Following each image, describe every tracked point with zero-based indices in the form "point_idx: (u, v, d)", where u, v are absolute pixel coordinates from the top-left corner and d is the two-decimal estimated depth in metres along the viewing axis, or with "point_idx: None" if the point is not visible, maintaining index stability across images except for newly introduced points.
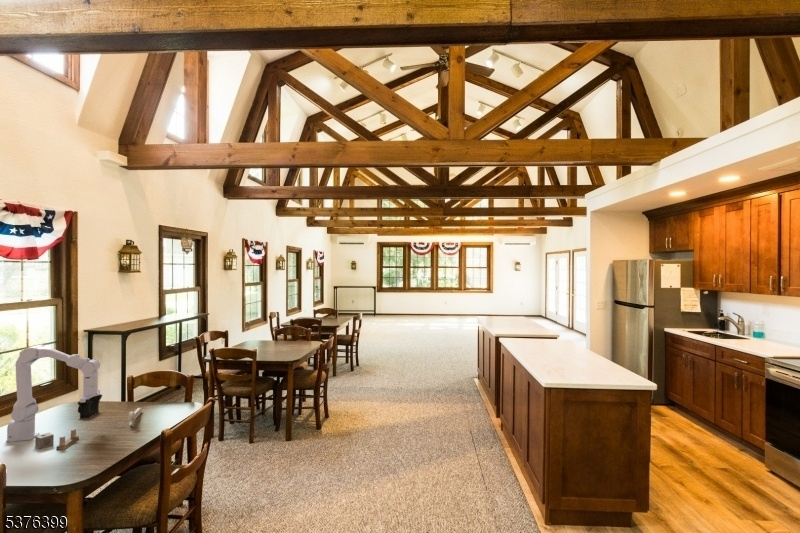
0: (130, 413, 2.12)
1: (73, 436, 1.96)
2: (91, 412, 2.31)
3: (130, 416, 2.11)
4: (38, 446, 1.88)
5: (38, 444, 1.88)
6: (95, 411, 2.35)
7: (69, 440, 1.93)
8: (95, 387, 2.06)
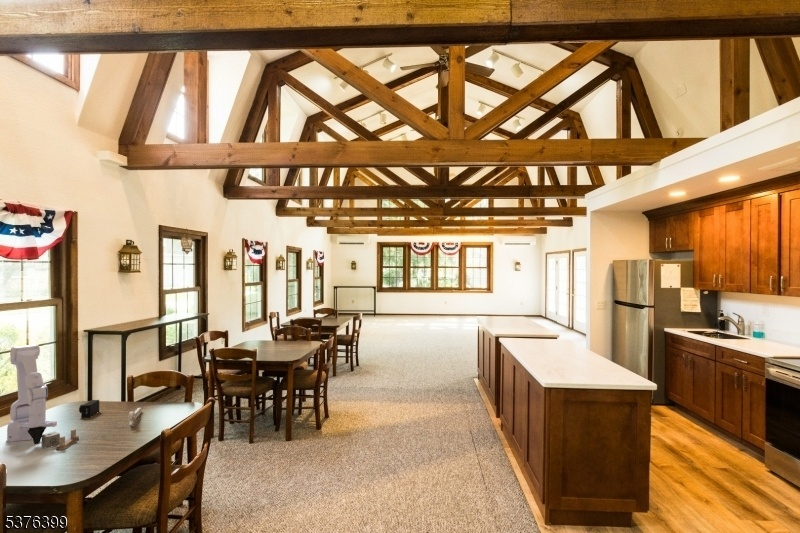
0: (130, 413, 2.12)
1: (73, 436, 1.96)
2: (92, 412, 2.31)
3: (130, 416, 2.11)
4: (44, 445, 1.89)
5: (44, 443, 1.89)
6: (96, 411, 2.35)
7: (69, 440, 1.93)
8: (31, 417, 1.88)
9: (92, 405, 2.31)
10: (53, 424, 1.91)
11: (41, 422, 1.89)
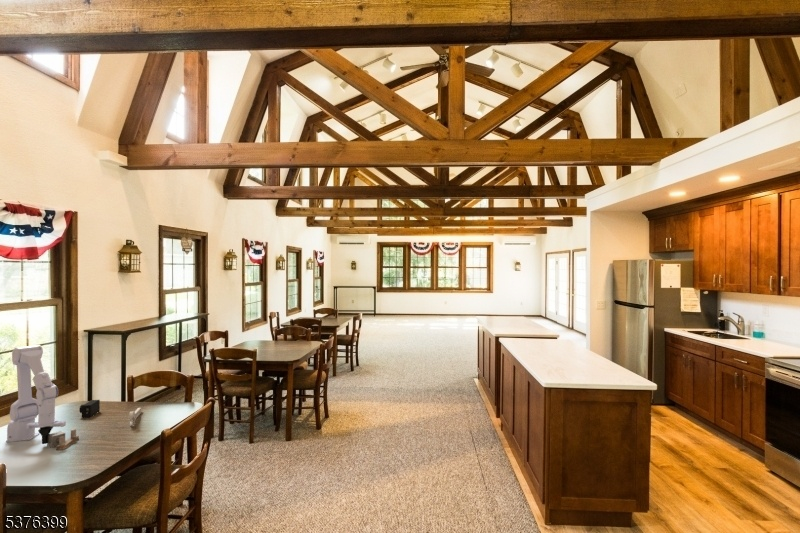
0: (130, 413, 2.12)
1: (73, 436, 1.96)
2: (93, 412, 2.31)
3: (130, 416, 2.11)
4: (50, 444, 1.90)
5: (50, 442, 1.90)
6: (96, 411, 2.35)
7: (69, 440, 1.93)
8: (40, 417, 1.88)
9: (92, 405, 2.31)
10: (62, 424, 1.92)
11: (50, 422, 1.90)
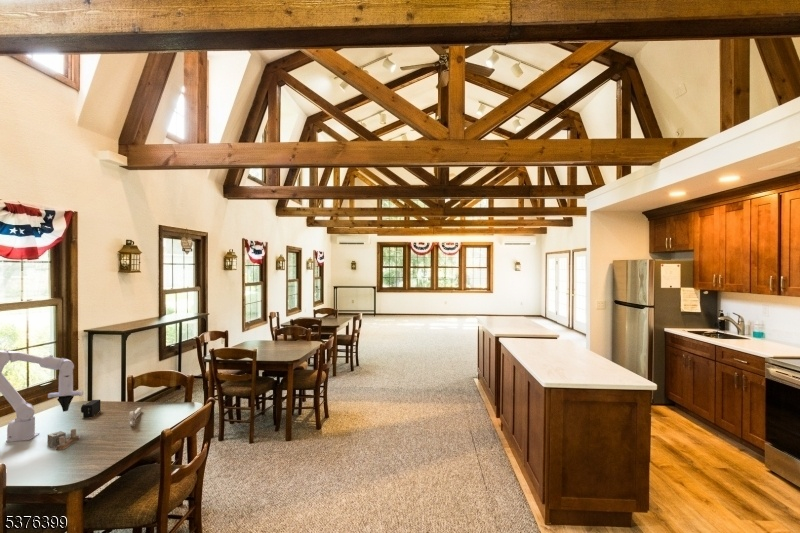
0: (131, 413, 2.12)
1: (73, 436, 1.96)
2: (94, 411, 2.31)
3: (131, 416, 2.11)
4: (51, 444, 1.90)
5: (51, 442, 1.90)
6: (97, 411, 2.35)
7: (69, 440, 1.93)
8: (60, 387, 2.08)
9: (94, 405, 2.31)
10: (80, 393, 2.12)
11: (69, 391, 2.10)
